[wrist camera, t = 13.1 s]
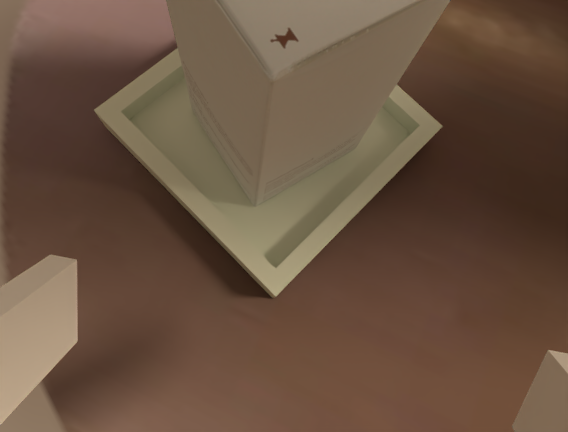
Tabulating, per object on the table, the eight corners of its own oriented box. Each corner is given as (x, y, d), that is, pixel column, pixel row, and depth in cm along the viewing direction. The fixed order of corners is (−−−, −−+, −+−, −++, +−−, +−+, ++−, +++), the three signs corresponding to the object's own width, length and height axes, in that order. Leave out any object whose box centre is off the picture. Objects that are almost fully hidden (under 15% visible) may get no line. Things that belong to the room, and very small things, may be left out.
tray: (273, -1, 27) (276, -26, 25) (427, 140, 26) (442, 126, 24) (105, 127, 24) (93, 109, 22) (272, 298, 22) (275, 296, 20)
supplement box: (358, 150, 24) (479, -21, 12) (252, 210, 22) (266, 84, 10) (293, 55, 25) (342, -190, 13) (187, 106, 24) (131, -119, 11)
